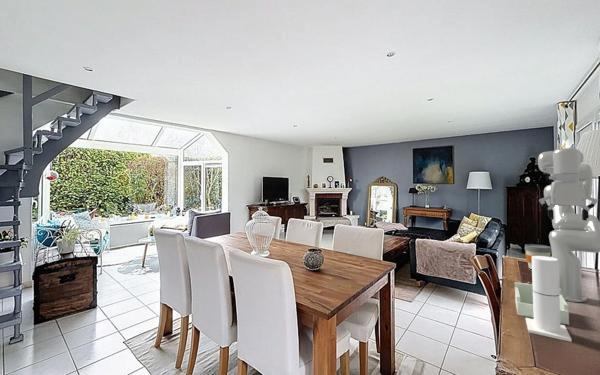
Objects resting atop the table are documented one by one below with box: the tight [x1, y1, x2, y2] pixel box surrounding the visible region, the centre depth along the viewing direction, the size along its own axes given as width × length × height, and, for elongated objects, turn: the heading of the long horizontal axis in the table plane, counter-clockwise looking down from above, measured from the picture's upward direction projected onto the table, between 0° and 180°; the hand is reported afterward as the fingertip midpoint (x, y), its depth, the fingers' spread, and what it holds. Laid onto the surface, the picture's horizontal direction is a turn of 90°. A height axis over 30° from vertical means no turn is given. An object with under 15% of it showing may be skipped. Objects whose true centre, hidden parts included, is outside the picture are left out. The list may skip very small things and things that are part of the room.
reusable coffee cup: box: [524, 243, 552, 270], centre depth 167 cm, size 13×13×15 cm
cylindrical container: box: [531, 256, 561, 332], centre depth 97 cm, size 7×7×25 cm
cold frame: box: [514, 281, 570, 326], centre depth 111 cm, size 15×15×9 cm
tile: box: [525, 317, 573, 343], centre depth 97 cm, size 11×11×1 cm
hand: (567, 219), depth 110 cm, fingers open, 9 cm apart
